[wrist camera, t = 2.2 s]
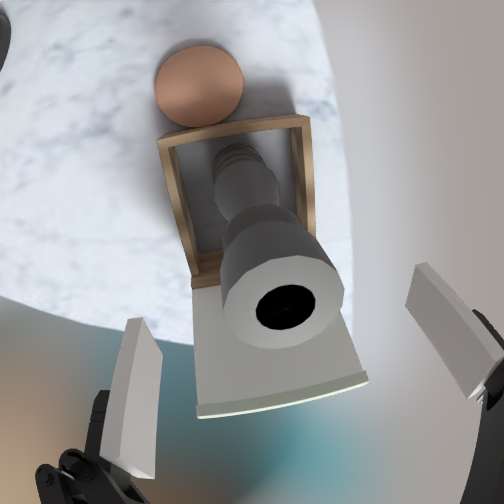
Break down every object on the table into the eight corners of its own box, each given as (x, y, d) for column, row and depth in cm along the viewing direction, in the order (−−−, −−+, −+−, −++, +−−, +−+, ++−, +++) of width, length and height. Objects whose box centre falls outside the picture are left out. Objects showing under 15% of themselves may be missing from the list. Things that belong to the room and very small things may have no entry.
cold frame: (164, 134, 30) (140, 153, 20) (296, 113, 31) (336, 123, 21) (205, 296, 43) (206, 357, 33) (305, 278, 44) (331, 333, 34)
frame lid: (190, 289, 34) (186, 401, 21) (322, 265, 34) (375, 362, 21) (198, 313, 36) (199, 420, 23) (321, 290, 37) (367, 385, 24)
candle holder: (222, 198, 36) (242, 364, 14) (205, 154, 32) (194, 279, 11) (268, 182, 35) (352, 328, 14) (254, 137, 32) (342, 229, 11)
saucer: (151, 57, 25) (148, 56, 24) (236, 41, 25) (237, 39, 24) (164, 134, 30) (162, 135, 29) (247, 119, 31) (248, 119, 30)
